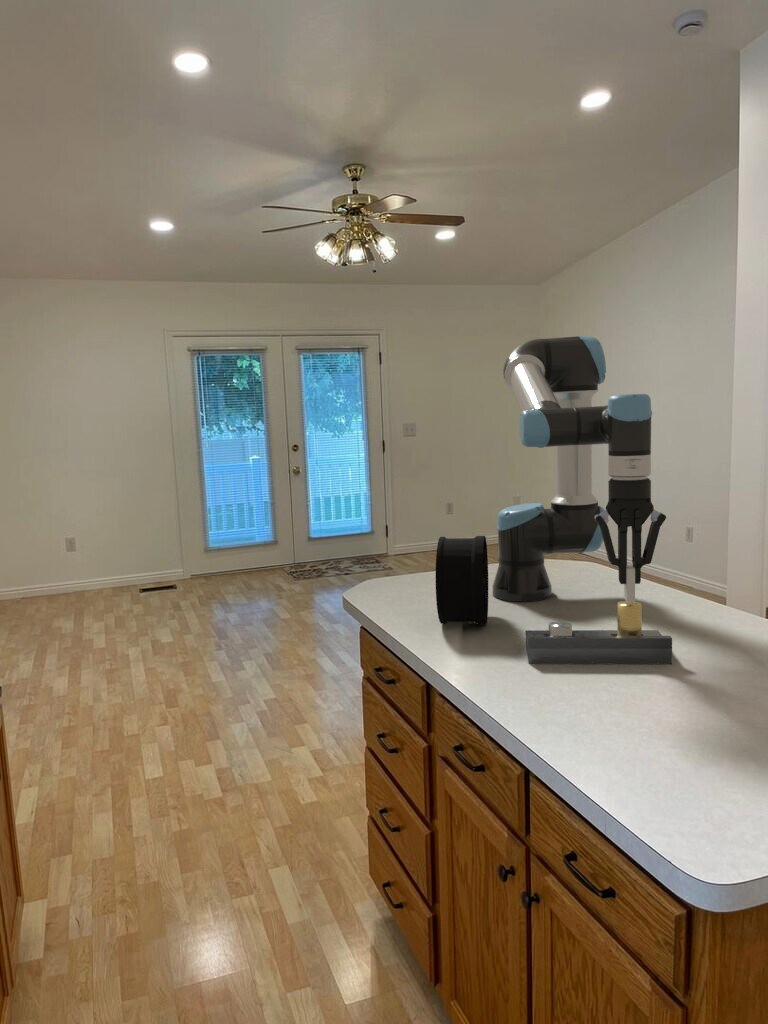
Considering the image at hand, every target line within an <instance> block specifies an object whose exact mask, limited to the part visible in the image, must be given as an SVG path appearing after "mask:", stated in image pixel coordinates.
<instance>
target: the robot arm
mask: <svg viewBox="0 0 768 1024" xmlns="http://www.w3.org/2000/svg"><path fill="white" fill-rule="evenodd" d="M606 363H607V362H606V355H605V352H604V349H603V347H602V344H601V342H600V340H598V339H597V338H596V337H594V336H583V335H582V336H580V335H578V336H568V337H567V336H565V337H552V338H551V337H550V338H548V337H547V338H534V339H531V340H527V341H525V342H523V343H521V344H519V345H518V346H517V347H515V348H514V349H513V350H512V351H511V352H510V353H509V355H508V357H506V359H505V362H504V365H503V369H502V371H503V373H502V374H503V379H504V383H506V385H507V387H508V388H509V389H510V390H511V391H513V392H514V394H515V397H516V399H517V401H518V404H519V407H520V409H521V410H522V411H521V413H520V416H519V421H518V422H519V423H518V426H519V427H518V429H519V430H518V431H519V439H520V443H521V445H523V447H525V448H541V449H543V448H549V447H556V495H555V496H554V497H553V498H552V499H551V501H550V508H545V507H544V504H542V503H539V502H533V503H530V502H529V503H520V504H517V505H516V504H515V505H512V506H507V507H505V508H503V509H502V510H500V511H499V513H498V514H497V526H496V530H497V538H498V539H497V543H498V545H497V549H498V550H497V552H498V553H497V554H498V566H497V570H496V573H495V576H494V579H493V584H492V596H493V597H495V598H497V599H500V600H502V601H503V600H504V601H508V602H509V601H510V602H536V601H542V600H545V599H548V598H550V597H551V596H552V594H553V593H552V588H553V587H552V584H551V581H550V578H549V575H548V571H547V569H546V566H545V555H549V554H551V555H552V554H553V555H554V554H576V553H578V554H583V553H590V552H592V553H593V552H596V551H597V550H599V549H600V548H601V546H602V544H603V543H604V544H603V545H604V548H605V552H606V555H607V559H608V561H609V563H610V564H611V565H612V566H617V568H618V582H619V584H620V585H623V586H624V588H623V591H624V592H623V598H624V601H627V602H636V585H639V584H640V583H641V581H642V579H641V577H642V576H641V574H642V572H641V571H642V570H641V569H642V567H644V566H645V565H650V564H652V561H653V556H654V553H655V549H656V545H657V541H658V537H659V533H660V529H661V526H662V525H663V524H664V522H665V521H666V519H667V516H666V515H665V513H662V512H659V511H658V510H656V509H655V508H654V504H653V502H652V480H651V479H650V478H648V477H649V476H650V475H651V474H652V459H651V457H652V456H651V455H652V454H651V453H652V451H651V450H652V415H653V411H652V402H651V397H650V395H649V394H646V393H633V394H616V395H615V394H614V395H611V396H610V397H609V399H608V404H606V405H600V406H592V399H593V397H594V396H595V395H596V394H597V392H598V391H599V389H598V388H599V385H601V384H603V383H605V379H606V372H607V364H606ZM593 445H607V446H608V454H607V455H608V463H607V464H608V468H607V469H608V472H607V474H608V476H609V477H611V478H610V479H609V480H608V483H607V484H608V501H607V504H606V505H605V508H604V507H603V506H601V505H599V500H598V498H597V497H595V496H594V495H593V487H592V486H593V482H592V481H593V477H592V476H593V475H592V473H593V472H592V471H593V468H592V467H593V466H592V465H593V463H592V461H593V460H592V458H593V456H592V455H593V454H592V453H593V451H592V448H593ZM609 517H610V518H611V519H612V521H613V522H614V523H615V524H616V525H617V556H616V552H615V549H614V544H613V540H612V538H611V537H612V536H611V533H610V528H609V526H608V523H609ZM649 517H650V521H651V522H650V526H649V530H648V533H647V536H646V540H645V544H644V545H645V546H644V549H643V553H642V532H643V525H644V524H645V522H646V521H647V520H648V518H649ZM630 527H631V547H632V548H631V562H632V565H628V528H630Z"/></svg>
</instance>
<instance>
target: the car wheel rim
mask: <svg viewBox="0 0 768 1024" xmlns="http://www.w3.org/2000/svg"><path fill="white" fill-rule="evenodd" d="M436 546H437V547H436V554H435V555H436V556H435V600H436V610H437V616H438V620H439V623H440V624H442V625H443V624H444V625H445V624H447V623H475V624H476V625H487V623H488V619H489V617H488V616H489V559H488V544H487V537H486V535H477V536H475V537H469V538H467V537H463V538H459V537H458V538H453V537H452V538H450V537H449V538H448V537H445V536H440V537H439V538H438V541H437V545H436Z"/></svg>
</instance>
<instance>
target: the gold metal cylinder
mask: <svg viewBox="0 0 768 1024" xmlns="http://www.w3.org/2000/svg"><path fill="white" fill-rule="evenodd" d="M616 605H617V606H616V607H617V609H616V610H617V611H616V612H617V619H616V620H617V624H616V625H617V629H616V630H617V634H618V636H642V630H643V629H642V625H643V623H642V620H643V618H642V617H643V616H642V613H643V612H642V611H643V609H642V608H643V606H642V603H641V602H639V601H635V602H627V601H626V600H622V601H618V602H617V604H616Z"/></svg>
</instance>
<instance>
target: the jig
mask: <svg viewBox="0 0 768 1024" xmlns="http://www.w3.org/2000/svg"><path fill="white" fill-rule="evenodd" d="M524 634H525V649H526V655H527V662H528V664H529V665H530V664H533V665H534V664H535V665H537V664H539V665H540V664H541V665H543V664H546V665H547V664H548V665H550V664H552V665H559V664H561V665H568V664H569V665H673V637H672V636H671V635H662V633H661V632H660V630H658V629H657V630H656V629H653V630H652V629H644V630H643V629H642V636H618V634H617V629H615V630H614V629H613V630H611V629H610V630H609V629H607V630H605V629H604V630H603V629H601V630H597V629H596V630H595V629H594V630H593V629H590V630H589V629H587V630H583V629H581V630H580V629H579V630H577V629H576V630H575V629H574V630H573V629H572V636H549V629H547V630H545V629H544V630H541V629H540V630H536V629H534V630H533V629H532V630H530V629H529V630H525V631H524Z"/></svg>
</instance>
